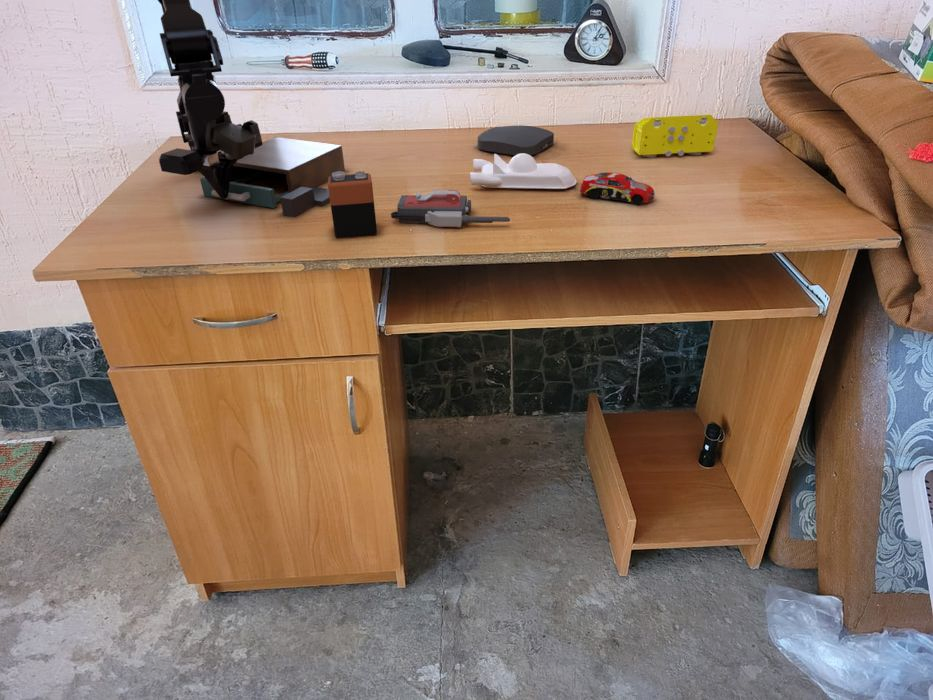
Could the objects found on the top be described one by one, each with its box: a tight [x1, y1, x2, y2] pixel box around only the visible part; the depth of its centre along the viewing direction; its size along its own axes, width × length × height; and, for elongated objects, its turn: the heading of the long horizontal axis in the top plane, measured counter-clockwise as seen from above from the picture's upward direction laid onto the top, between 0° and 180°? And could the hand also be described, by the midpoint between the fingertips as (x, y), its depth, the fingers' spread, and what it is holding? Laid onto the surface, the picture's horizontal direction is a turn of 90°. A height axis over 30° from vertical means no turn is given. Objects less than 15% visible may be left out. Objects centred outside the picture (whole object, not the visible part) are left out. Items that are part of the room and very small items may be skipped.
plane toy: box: [469, 153, 577, 190], centre depth 123 cm, size 10×20×6 cm, turn 86°
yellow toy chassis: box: [631, 114, 719, 158], centre depth 136 cm, size 16×6×8 cm, turn 95°
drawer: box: [199, 170, 289, 209], centre depth 124 cm, size 19×17×3 cm
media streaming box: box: [477, 124, 555, 156], centre depth 145 cm, size 15×15×3 cm
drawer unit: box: [230, 136, 346, 193], centre depth 128 cm, size 17×17×5 cm
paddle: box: [279, 186, 330, 218], centre depth 117 cm, size 6×12×3 cm, turn 155°
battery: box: [327, 170, 378, 239], centre depth 104 cm, size 4×7×10 cm, turn 100°
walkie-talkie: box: [390, 189, 511, 228], centre depth 109 cm, size 9×4×20 cm
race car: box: [579, 172, 656, 206], centre depth 117 cm, size 13×5×4 cm, turn 63°
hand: (224, 197), depth 116 cm, fingers closed
